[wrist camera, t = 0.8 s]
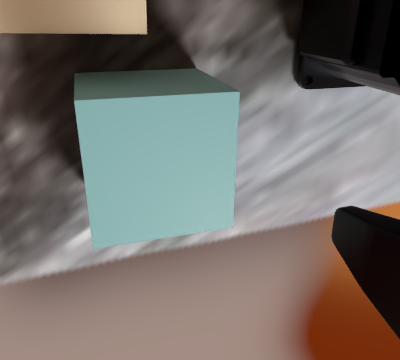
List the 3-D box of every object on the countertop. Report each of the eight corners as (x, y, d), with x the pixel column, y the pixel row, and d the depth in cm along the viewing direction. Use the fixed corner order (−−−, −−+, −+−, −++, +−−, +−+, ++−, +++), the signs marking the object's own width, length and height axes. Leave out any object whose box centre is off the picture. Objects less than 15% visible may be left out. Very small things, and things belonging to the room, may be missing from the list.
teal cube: (196, 68, 20) (239, 91, 14) (195, 174, 22) (232, 227, 17) (74, 72, 18) (73, 100, 13) (88, 186, 21) (93, 248, 15)
